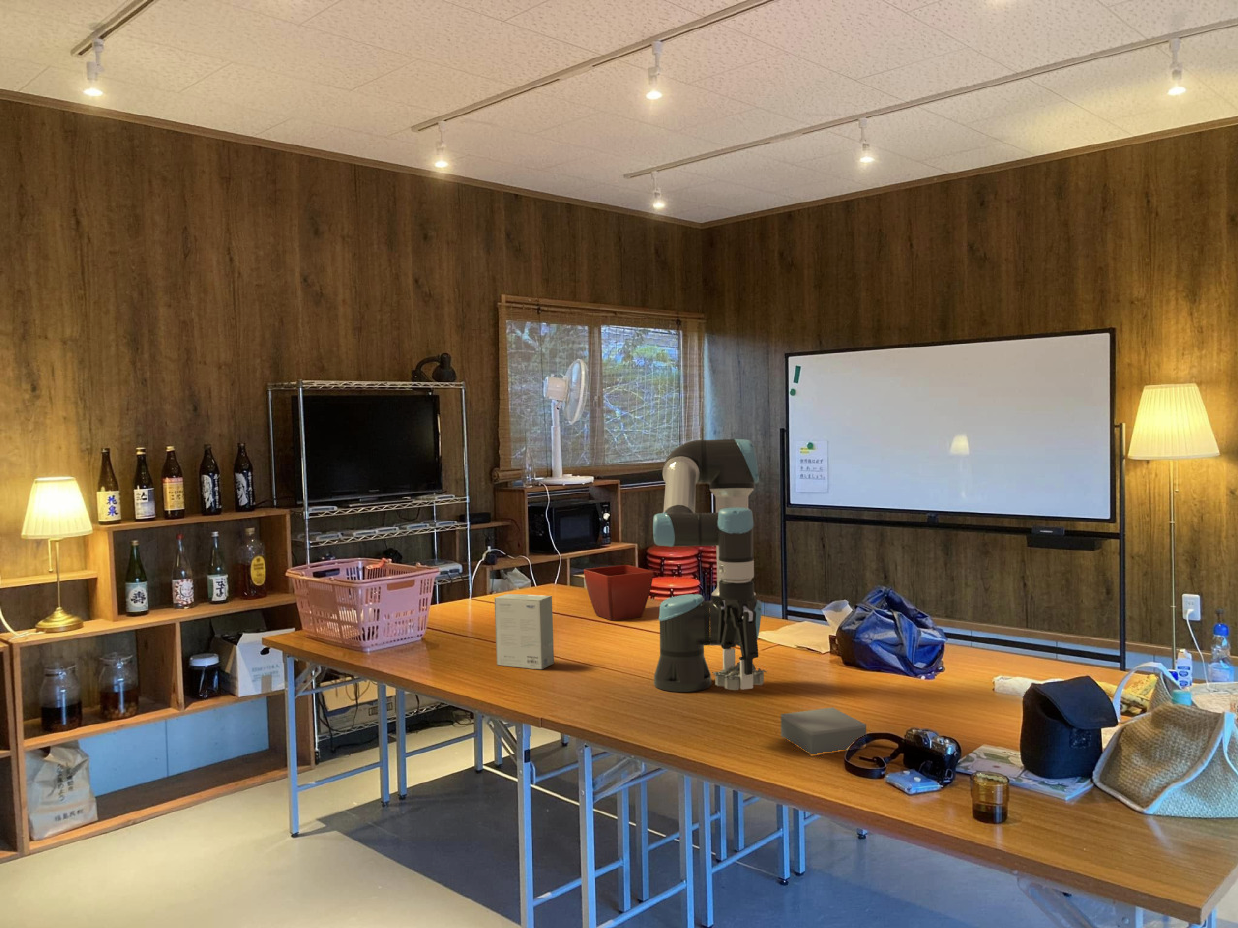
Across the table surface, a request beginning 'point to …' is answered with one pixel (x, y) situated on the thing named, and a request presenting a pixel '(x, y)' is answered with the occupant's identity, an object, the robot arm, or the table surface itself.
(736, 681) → the egg carton
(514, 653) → the hard drive box
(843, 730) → the plinth
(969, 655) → the table surface
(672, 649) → the robot arm
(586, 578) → the plant pot
